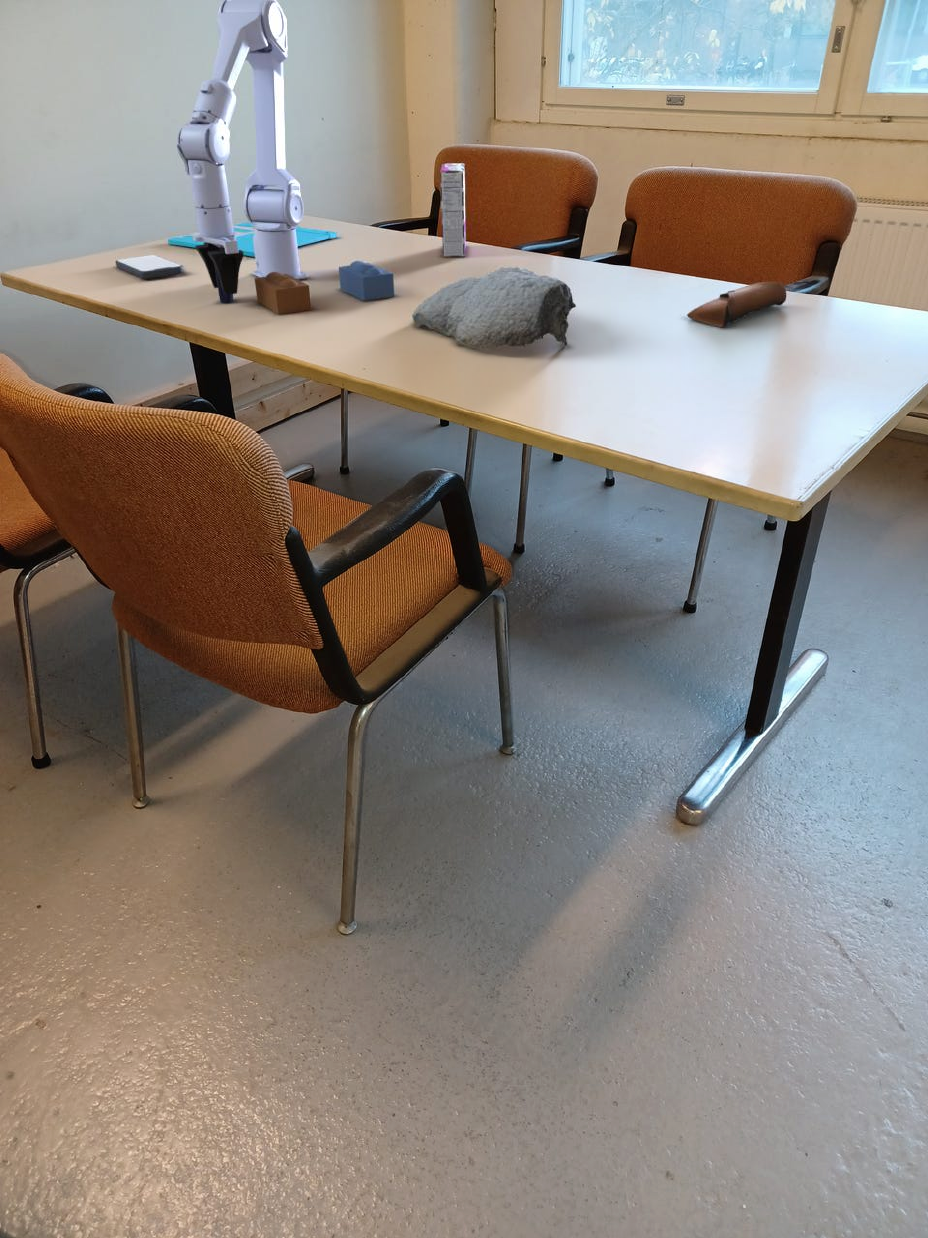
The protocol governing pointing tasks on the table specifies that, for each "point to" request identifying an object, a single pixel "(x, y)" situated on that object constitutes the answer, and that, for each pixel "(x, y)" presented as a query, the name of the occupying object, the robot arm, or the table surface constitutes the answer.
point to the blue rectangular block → (366, 281)
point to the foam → (499, 309)
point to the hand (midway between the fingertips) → (225, 290)
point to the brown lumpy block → (282, 293)
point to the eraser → (222, 296)
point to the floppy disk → (246, 235)
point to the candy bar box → (453, 209)
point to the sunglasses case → (739, 303)
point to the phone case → (149, 266)
